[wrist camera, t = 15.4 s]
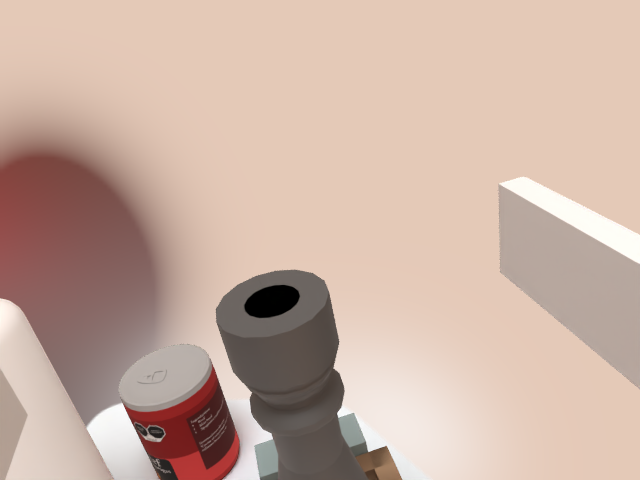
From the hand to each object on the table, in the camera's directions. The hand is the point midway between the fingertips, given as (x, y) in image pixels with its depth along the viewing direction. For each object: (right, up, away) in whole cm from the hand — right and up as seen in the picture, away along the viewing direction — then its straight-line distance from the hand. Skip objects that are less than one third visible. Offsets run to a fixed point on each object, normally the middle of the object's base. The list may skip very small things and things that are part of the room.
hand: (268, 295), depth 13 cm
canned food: (-10, -20, +37) cm, 43 cm away
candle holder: (+3, -24, +24) cm, 34 cm away
